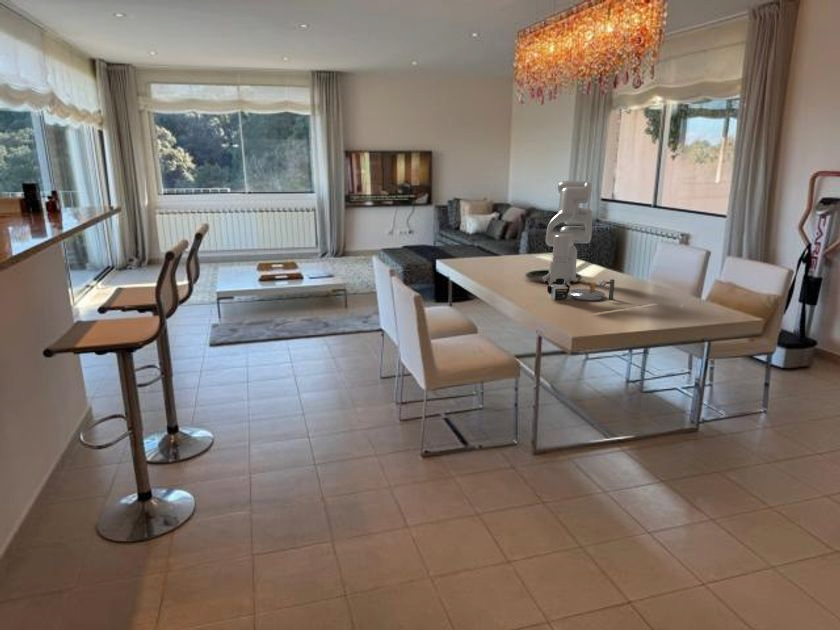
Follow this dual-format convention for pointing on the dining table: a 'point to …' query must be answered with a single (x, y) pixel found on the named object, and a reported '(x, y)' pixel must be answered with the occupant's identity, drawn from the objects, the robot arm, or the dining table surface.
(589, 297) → the disc
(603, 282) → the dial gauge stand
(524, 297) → the dining table surface
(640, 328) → the dining table surface
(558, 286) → the medicine bottle
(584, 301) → the base
